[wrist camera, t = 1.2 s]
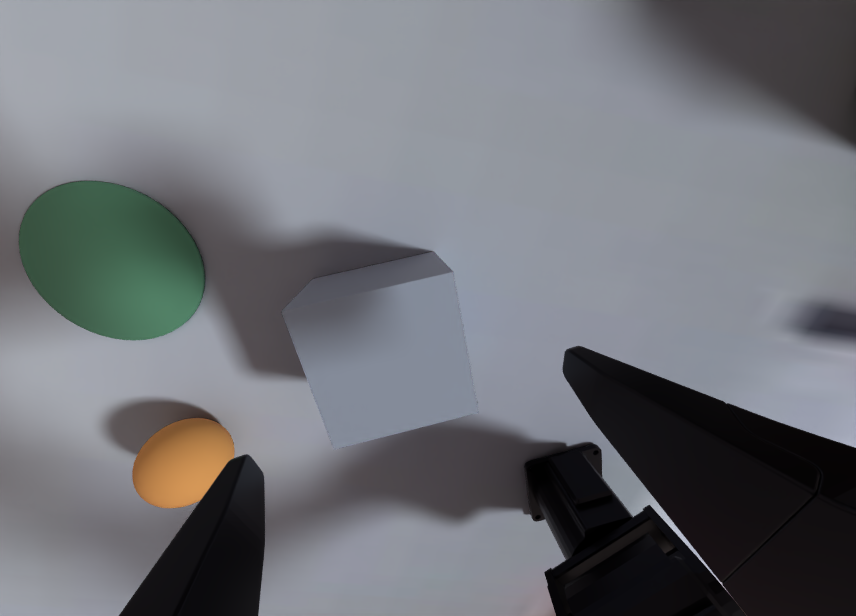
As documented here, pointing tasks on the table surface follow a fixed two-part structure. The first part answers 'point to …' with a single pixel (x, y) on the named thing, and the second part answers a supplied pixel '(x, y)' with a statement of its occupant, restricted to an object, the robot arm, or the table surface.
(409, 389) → the grey block
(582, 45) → the table surface
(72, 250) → the disc
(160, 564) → the robot arm
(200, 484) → the ball
